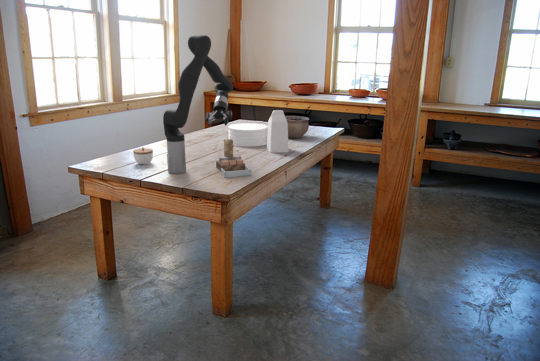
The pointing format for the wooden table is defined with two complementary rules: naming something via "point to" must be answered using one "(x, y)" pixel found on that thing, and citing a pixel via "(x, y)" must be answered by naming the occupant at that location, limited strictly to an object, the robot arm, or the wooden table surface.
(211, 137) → the wooden table surface
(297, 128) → the ceramic bowl
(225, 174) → the tray
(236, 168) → the board
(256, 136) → the plate stack
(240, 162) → the tile right
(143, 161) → the lidded jar
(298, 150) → the wooden table surface
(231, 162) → the tile mid
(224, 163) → the tile left
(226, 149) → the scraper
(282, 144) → the milk
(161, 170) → the wooden table surface
